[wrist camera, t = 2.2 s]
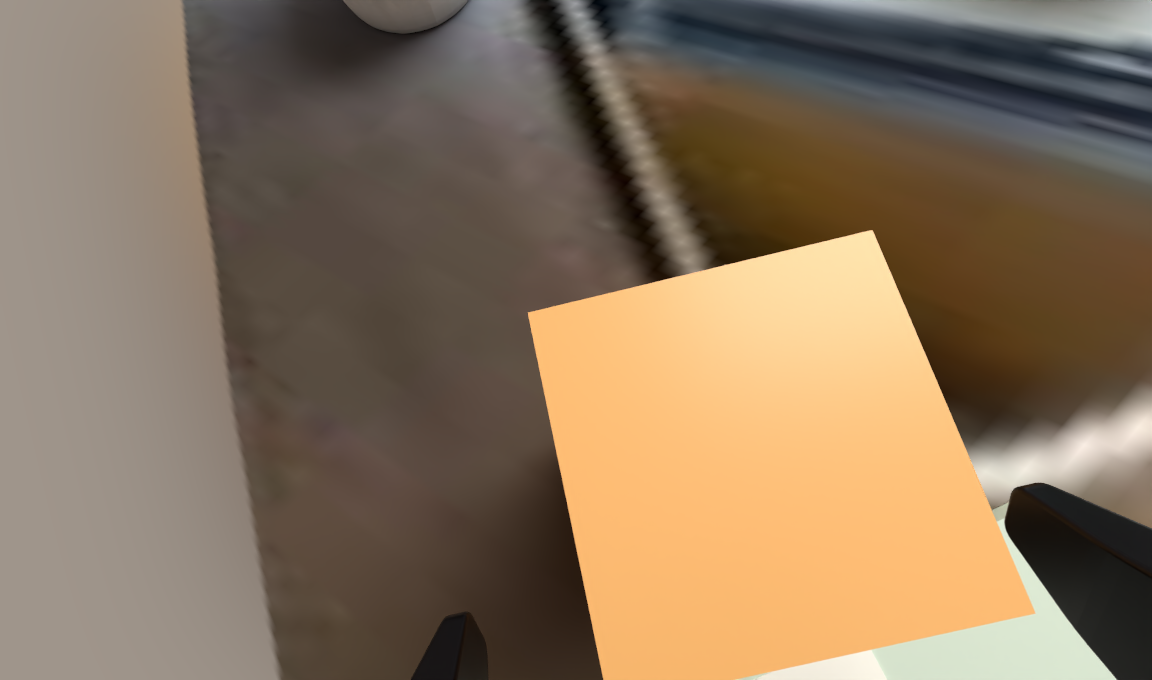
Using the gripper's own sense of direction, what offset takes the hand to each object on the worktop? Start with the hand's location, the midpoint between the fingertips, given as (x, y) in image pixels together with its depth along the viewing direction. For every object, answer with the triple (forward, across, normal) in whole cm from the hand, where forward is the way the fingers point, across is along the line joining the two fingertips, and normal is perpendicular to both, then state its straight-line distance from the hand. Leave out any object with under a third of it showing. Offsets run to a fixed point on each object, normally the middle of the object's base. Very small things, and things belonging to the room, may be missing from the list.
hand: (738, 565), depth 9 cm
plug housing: (+8, 0, +5) cm, 9 cm away
